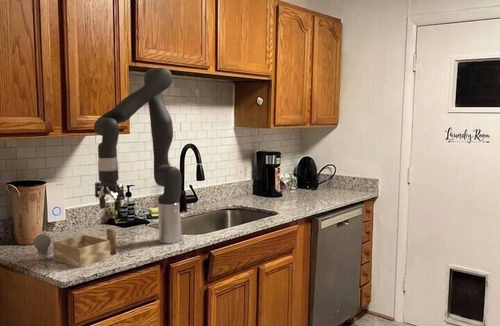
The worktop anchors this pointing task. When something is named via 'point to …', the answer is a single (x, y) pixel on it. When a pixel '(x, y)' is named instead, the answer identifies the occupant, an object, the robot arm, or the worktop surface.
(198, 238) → the worktop surface
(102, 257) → the crate
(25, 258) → the worktop surface
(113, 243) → the peg
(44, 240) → the light bulb
